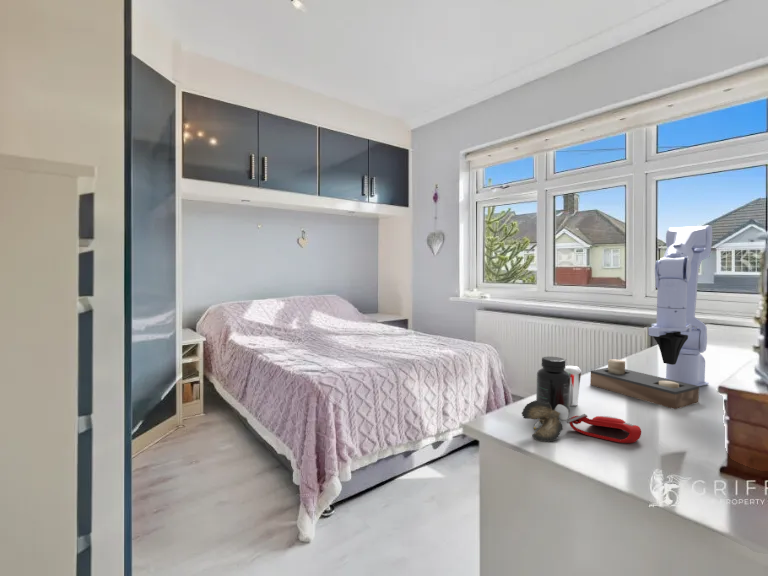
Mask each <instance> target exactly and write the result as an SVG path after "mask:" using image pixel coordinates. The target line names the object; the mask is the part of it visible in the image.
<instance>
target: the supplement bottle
mask: <svg viewBox="0 0 768 576" xmlns="http://www.w3.org/2000/svg"><path fill="white" fill-rule="evenodd" d="M541 367H542V368H541V369H539V370H538V371H537V373H536V397H535V399H536V400H538V401H541V402H545V403H548V402H549V403H550V405H551V407H552V410H554V409H555V408H556V406H557V405H558V404H561V405H563V406H565V407H566V408H567V409H568V412H569V413H570V407H571V406H570V375H569V374H568V372H566V371H565V370H564V369H565V368H566V364H565V358H564V357H563V358H562V357H559V356H543V357H542V358H541Z"/></svg>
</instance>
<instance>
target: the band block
mask: <svg viewBox="0 0 768 576" xmlns="http://www.w3.org/2000/svg"><path fill="white" fill-rule="evenodd" d="M659 381H671V382H676V383H678V384H679V388H670V387H666V386H662V385H659ZM589 385H590V386H593V387H597V388H600V389H603V390H607V391H610V392H614V393H617V394H620V395H624V396H628V397H629V398H630V397H631V398H634V399H638V400H641V401H644V402H648V403H652V404H655V405H659V406H662V407H666V408H668V409H669V408H670V409H673V410H678V409H682V408H685V407H689V406H692V405H696V404H699V403H700V402H699V399H700V398H699V396H700V386H696V385H692V384H687V383H683V382H679V381H674V380H670V379H666V377H661V376H657V375H652V374H647V373H644V372H643V373H642V372H640V371H634V370H629V369H626V368H625V374H623V375H617V374H613V373H609V372H608V367H603V368H598V369H597V368H596V369H592V370H590V383H589Z"/></svg>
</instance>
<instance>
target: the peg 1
mask: <svg viewBox="0 0 768 576" xmlns="http://www.w3.org/2000/svg"><path fill="white" fill-rule="evenodd" d="M607 368H608V372H609V373H613V374H617V375H623V374H625V369H626V361H625V360H621V359H615V358H614V359H613V358H611V359H608V360H607Z"/></svg>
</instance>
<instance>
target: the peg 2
mask: <svg viewBox="0 0 768 576" xmlns="http://www.w3.org/2000/svg"><path fill="white" fill-rule="evenodd" d="M659 385H662V386H666V387H670V388H679V384H678V383H676V382H671V381H659Z"/></svg>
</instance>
